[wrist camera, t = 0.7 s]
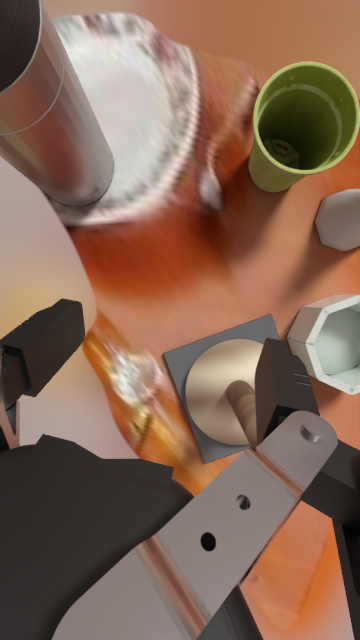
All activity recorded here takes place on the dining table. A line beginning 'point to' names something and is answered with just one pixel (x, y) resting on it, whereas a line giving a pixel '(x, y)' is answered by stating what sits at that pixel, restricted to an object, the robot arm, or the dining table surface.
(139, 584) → the robot arm
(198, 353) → the mat
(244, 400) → the lid
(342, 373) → the bowl
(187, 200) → the dining table surface
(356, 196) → the flask
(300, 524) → the dining table surface
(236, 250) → the dining table surface
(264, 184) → the plant pot
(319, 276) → the dining table surface
